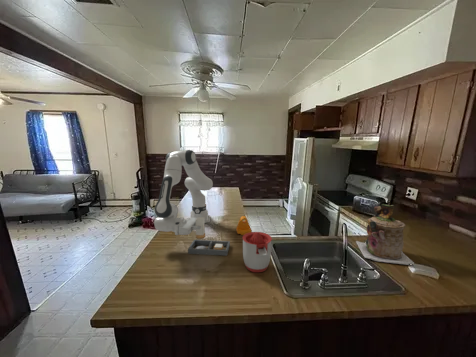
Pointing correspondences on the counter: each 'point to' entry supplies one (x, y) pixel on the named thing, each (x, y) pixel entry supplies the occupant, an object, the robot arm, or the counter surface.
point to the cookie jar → (384, 238)
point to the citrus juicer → (256, 251)
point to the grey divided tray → (209, 247)
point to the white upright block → (200, 232)
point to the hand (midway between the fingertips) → (201, 225)
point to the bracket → (243, 226)
